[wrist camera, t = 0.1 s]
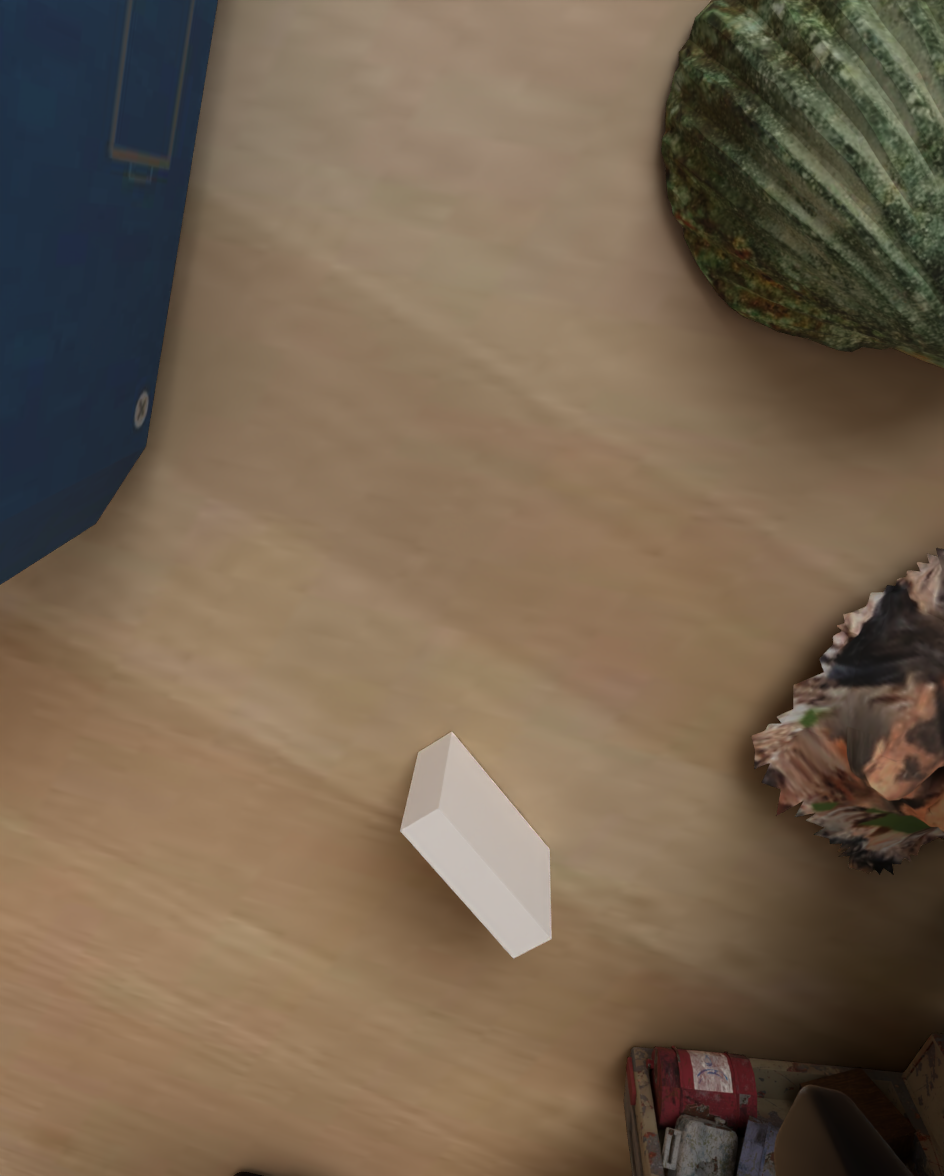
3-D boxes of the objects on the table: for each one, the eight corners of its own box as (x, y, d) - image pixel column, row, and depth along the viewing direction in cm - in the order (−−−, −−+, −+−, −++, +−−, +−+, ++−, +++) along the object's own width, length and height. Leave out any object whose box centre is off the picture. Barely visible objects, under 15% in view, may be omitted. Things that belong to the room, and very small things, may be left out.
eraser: (452, 729, 25) (438, 808, 21) (550, 847, 26) (552, 939, 23) (417, 750, 25) (398, 831, 22) (516, 866, 26) (512, 960, 23)
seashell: (1302, -399, 12) (1327, 307, 16) (1140, -257, 16) (1187, 287, 19) (608, -62, 15) (754, 481, 18) (609, -8, 19) (730, 434, 22)
